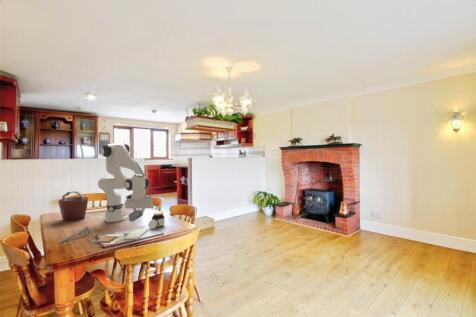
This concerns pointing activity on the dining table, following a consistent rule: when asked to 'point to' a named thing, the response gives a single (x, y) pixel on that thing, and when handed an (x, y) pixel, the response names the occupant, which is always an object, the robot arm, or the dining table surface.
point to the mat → (100, 243)
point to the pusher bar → (135, 215)
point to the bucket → (73, 207)
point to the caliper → (77, 234)
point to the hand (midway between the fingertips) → (139, 214)
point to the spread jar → (157, 220)
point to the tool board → (136, 234)
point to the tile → (106, 239)
